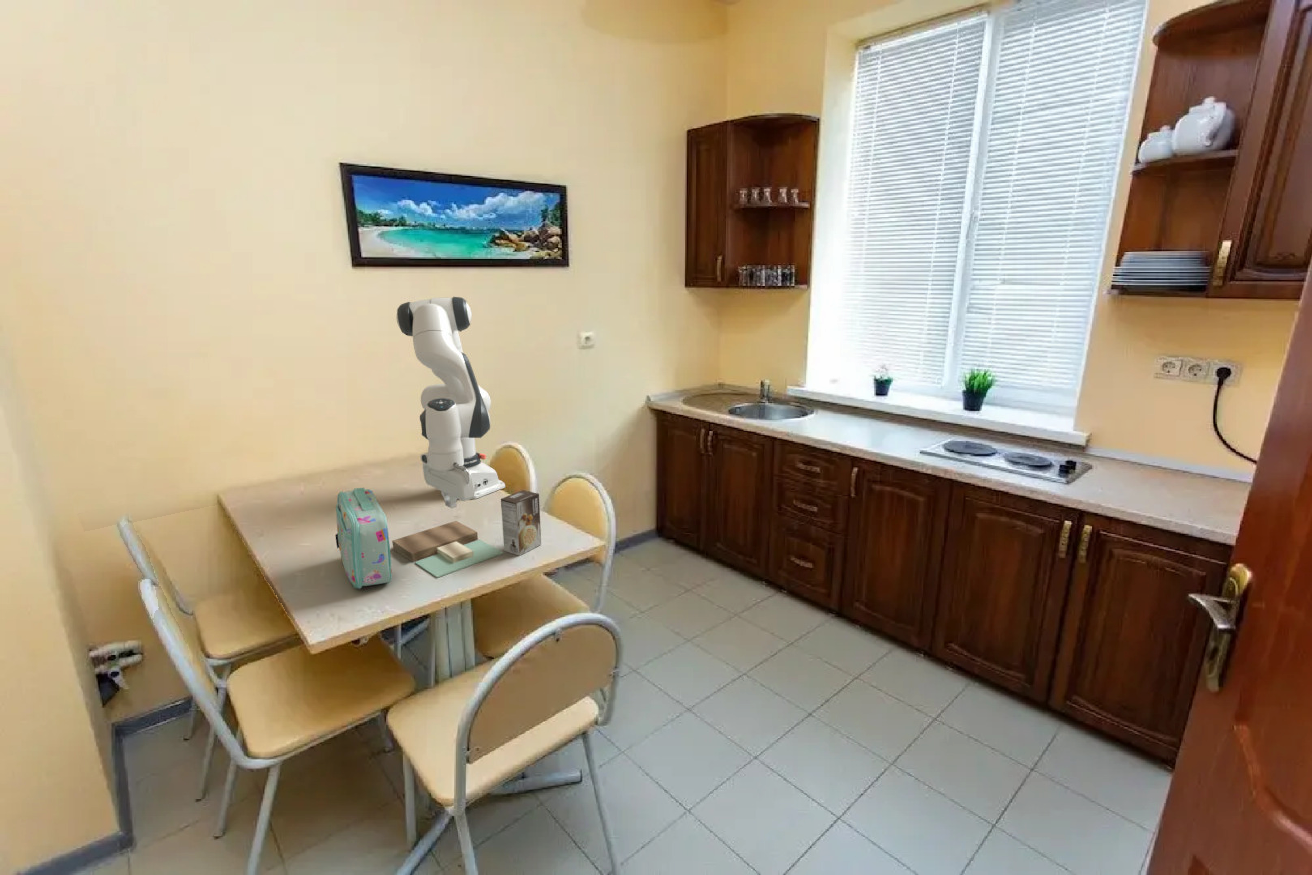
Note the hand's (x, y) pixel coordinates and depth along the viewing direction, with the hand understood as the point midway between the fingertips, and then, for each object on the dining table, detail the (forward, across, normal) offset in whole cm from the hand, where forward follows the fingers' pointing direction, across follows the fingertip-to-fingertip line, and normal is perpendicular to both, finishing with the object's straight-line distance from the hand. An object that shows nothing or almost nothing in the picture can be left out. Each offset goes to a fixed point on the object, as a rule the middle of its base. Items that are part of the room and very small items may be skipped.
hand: (451, 506), depth 167 cm
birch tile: (+13, -2, +1) cm, 13 cm away
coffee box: (+14, -11, -15) cm, 24 cm away
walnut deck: (+14, +9, +1) cm, 17 cm away
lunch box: (+14, +7, +22) cm, 27 cm away
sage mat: (+14, -4, +1) cm, 15 cm away
